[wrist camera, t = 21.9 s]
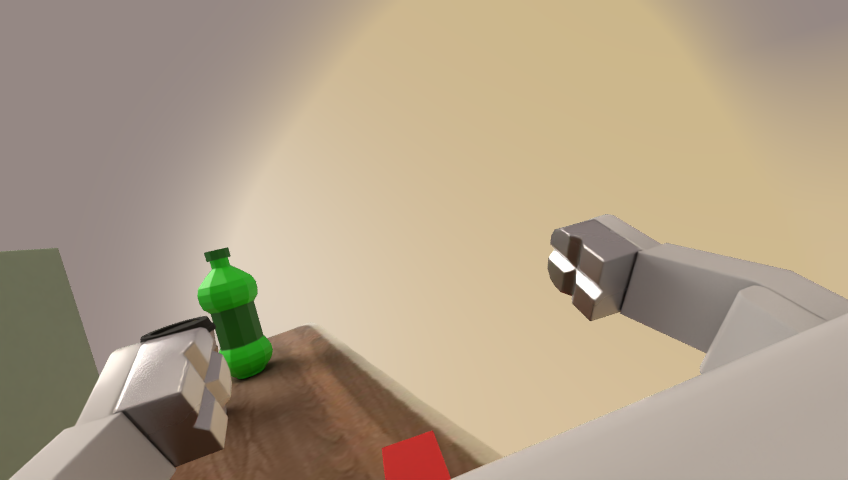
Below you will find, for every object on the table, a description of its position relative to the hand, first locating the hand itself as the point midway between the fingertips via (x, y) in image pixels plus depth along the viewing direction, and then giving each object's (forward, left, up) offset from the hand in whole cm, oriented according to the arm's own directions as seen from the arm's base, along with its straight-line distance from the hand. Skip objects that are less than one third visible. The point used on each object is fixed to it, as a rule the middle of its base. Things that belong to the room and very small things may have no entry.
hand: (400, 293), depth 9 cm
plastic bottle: (+73, -8, -22) cm, 76 cm away
